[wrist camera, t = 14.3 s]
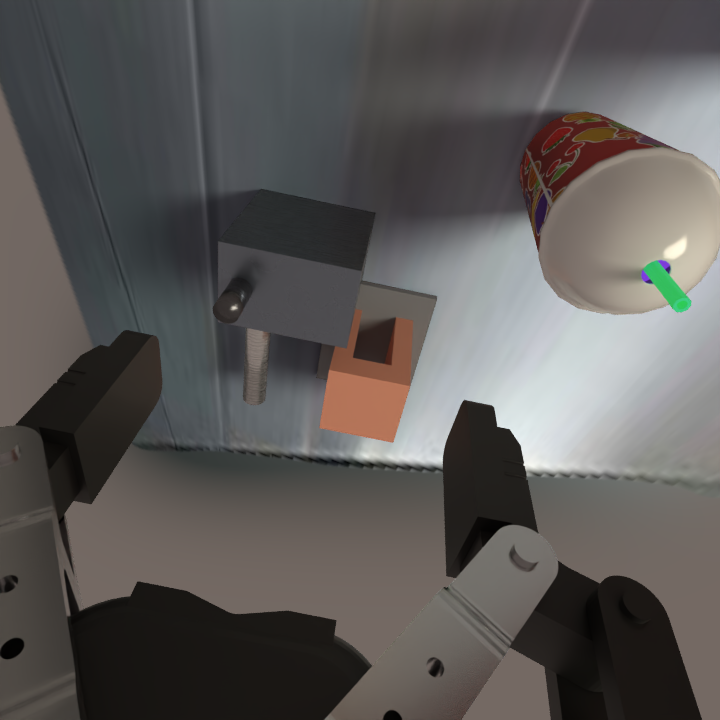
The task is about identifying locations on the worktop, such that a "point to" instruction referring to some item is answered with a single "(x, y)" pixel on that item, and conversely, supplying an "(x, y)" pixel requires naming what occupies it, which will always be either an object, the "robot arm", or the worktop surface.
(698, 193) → the smoothie
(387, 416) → the notched orange block
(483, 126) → the worktop surface
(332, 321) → the vise block
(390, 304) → the mat
